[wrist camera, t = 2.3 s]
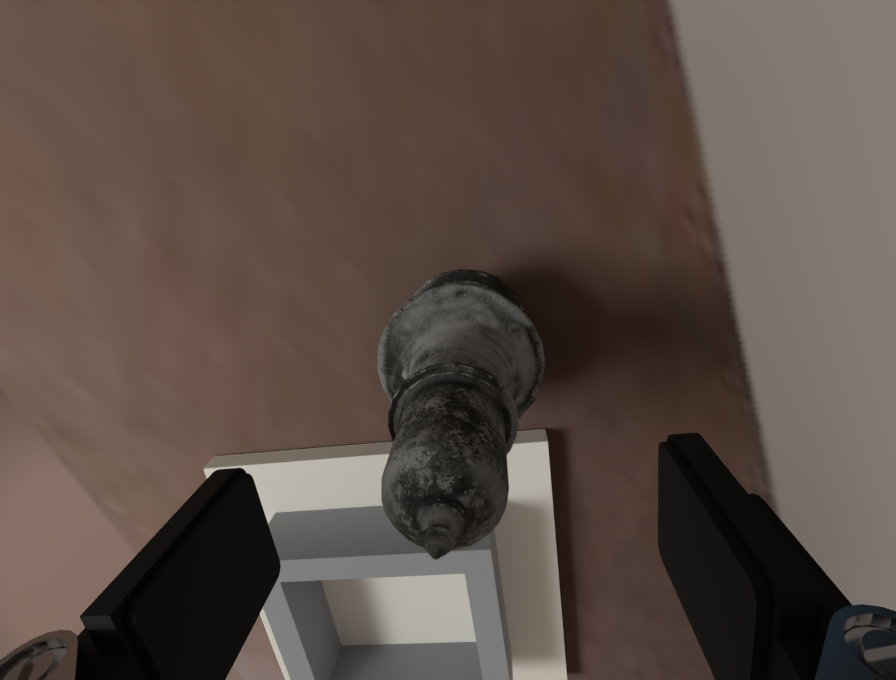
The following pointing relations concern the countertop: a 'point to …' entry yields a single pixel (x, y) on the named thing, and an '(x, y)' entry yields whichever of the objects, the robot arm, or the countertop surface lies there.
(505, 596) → the socket
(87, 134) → the countertop surface
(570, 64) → the countertop surface
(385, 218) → the countertop surface
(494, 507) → the stone chess piece
